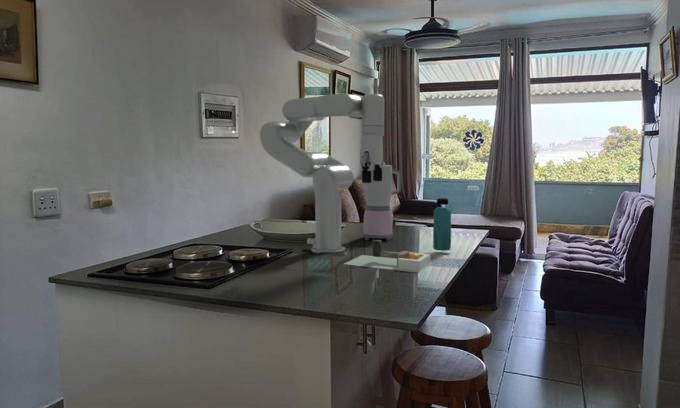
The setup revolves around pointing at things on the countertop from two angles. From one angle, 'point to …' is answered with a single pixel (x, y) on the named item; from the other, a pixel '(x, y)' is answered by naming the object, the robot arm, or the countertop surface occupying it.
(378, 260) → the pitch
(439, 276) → the countertop surface
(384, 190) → the blender
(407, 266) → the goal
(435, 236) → the beverage bottle
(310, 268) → the countertop surface
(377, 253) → the rod
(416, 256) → the ball
